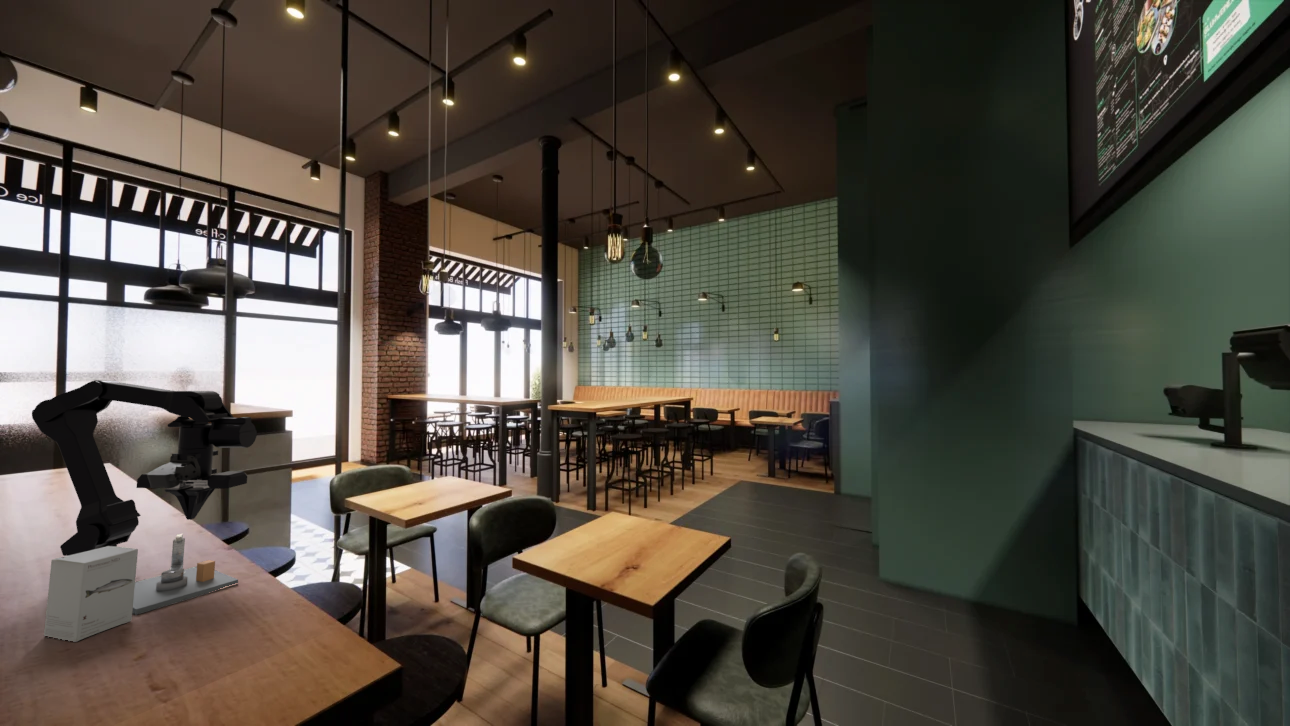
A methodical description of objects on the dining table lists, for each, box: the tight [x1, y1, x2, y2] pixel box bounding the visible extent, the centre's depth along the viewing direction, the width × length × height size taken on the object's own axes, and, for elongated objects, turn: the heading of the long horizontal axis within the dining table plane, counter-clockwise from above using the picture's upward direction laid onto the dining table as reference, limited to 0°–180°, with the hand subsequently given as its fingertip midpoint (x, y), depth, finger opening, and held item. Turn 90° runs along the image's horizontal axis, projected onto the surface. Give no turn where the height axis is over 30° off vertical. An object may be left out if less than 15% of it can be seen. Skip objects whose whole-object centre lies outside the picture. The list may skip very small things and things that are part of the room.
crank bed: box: [132, 559, 239, 616], centre depth 94 cm, size 16×15×4 cm
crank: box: [160, 533, 186, 583], centre depth 96 cm, size 10×3×7 cm, turn 40°
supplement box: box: [43, 546, 139, 643], centre depth 79 cm, size 7×7×13 cm
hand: (190, 519), depth 102 cm, fingers closed
